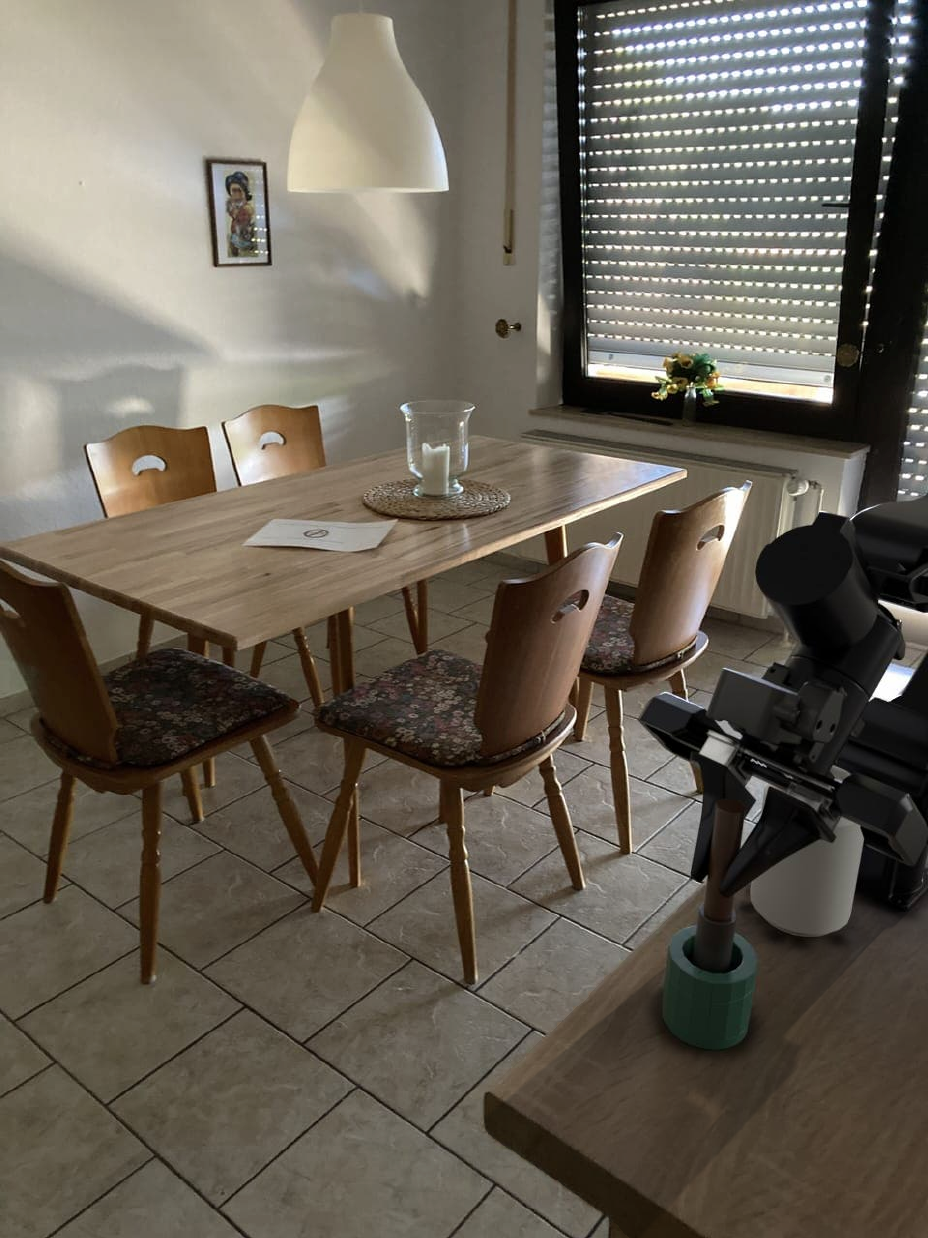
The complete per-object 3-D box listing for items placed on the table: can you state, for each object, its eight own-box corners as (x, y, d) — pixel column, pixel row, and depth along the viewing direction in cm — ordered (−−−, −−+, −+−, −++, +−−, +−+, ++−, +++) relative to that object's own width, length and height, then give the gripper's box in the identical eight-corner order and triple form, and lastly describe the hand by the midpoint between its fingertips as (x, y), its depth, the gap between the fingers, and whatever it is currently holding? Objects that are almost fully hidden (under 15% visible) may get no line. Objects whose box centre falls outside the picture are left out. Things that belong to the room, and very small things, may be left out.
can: (756, 874, 85) (773, 746, 81) (851, 897, 82) (875, 765, 78) (741, 929, 79) (759, 793, 74) (845, 955, 76) (870, 815, 71)
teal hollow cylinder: (692, 977, 74) (700, 913, 72) (764, 1019, 70) (773, 953, 68) (645, 1017, 70) (651, 952, 68) (717, 1064, 66) (726, 996, 64)
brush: (711, 945, 70) (730, 791, 65) (737, 965, 68) (759, 809, 63) (685, 958, 68) (702, 802, 64) (711, 979, 66) (731, 820, 62)
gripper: (666, 580, 68) (542, 780, 66) (941, 670, 55) (801, 924, 53) (724, 657, 76) (616, 839, 73) (978, 752, 63) (858, 978, 60)
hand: (708, 887), depth 65 cm, fingers closed on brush, 2 cm apart
